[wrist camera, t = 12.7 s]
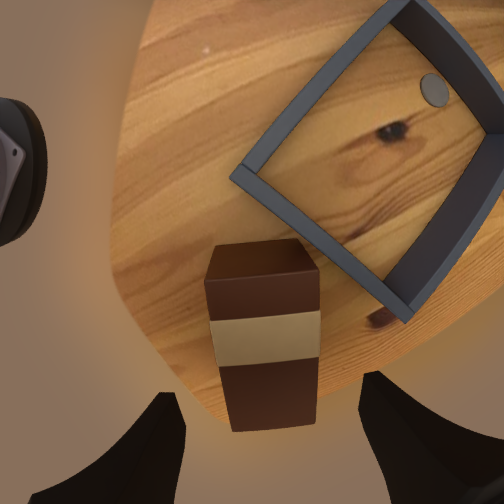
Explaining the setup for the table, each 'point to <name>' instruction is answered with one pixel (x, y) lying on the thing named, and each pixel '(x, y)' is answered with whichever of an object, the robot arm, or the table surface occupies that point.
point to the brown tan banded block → (265, 332)
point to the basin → (435, 93)
